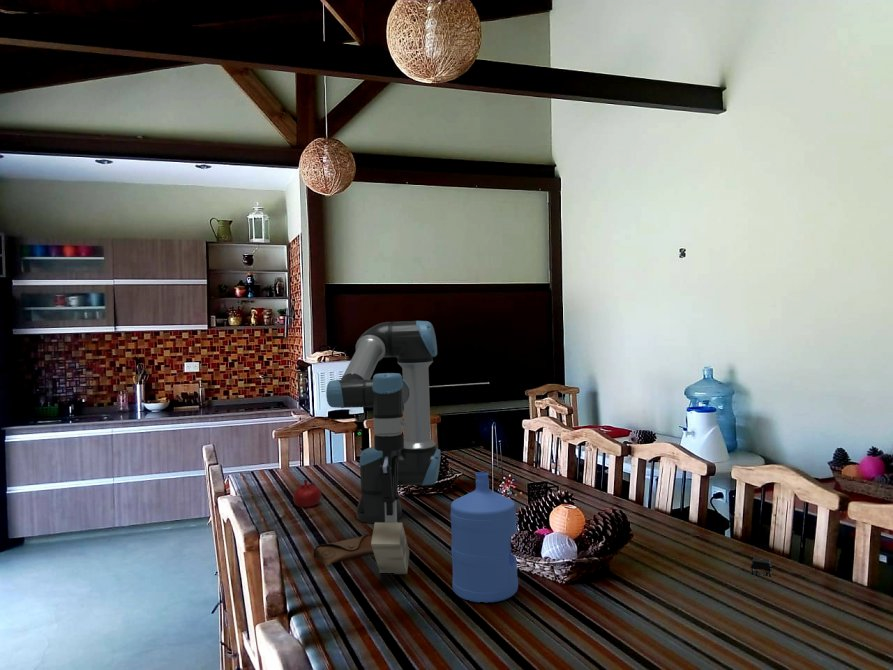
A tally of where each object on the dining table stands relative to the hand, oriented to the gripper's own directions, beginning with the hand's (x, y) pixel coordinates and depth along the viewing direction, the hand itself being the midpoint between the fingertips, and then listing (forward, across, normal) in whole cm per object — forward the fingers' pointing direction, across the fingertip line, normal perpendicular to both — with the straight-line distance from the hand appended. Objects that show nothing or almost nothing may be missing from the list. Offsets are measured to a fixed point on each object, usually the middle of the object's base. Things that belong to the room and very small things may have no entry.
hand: (391, 526), depth 164 cm
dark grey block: (+13, +3, -91) cm, 92 cm away
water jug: (+13, -7, -24) cm, 28 cm away
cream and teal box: (+11, +4, 0) cm, 11 cm away
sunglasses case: (+13, +15, +15) cm, 25 cm away
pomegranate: (+11, +62, +43) cm, 77 cm away
